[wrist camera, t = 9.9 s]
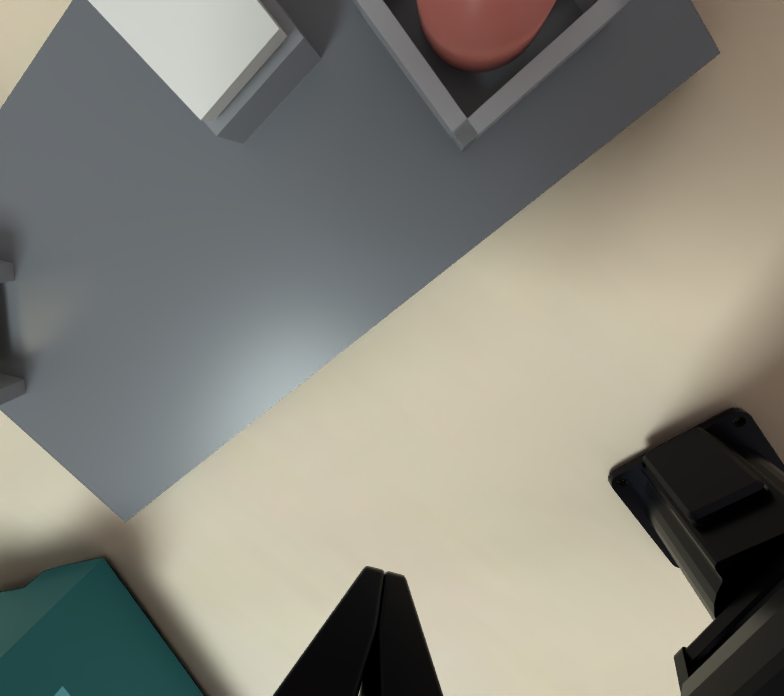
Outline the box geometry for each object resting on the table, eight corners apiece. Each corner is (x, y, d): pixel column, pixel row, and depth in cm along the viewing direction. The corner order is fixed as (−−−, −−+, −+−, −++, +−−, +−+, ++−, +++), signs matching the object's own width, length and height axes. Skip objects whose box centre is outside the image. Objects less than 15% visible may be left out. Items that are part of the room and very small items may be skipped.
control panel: (694, 67, 15) (793, 13, 11) (143, 503, 25) (81, 566, 20) (410, -420, 12) (393, -754, 8) (-89, 291, 22) (-217, 312, 18)
